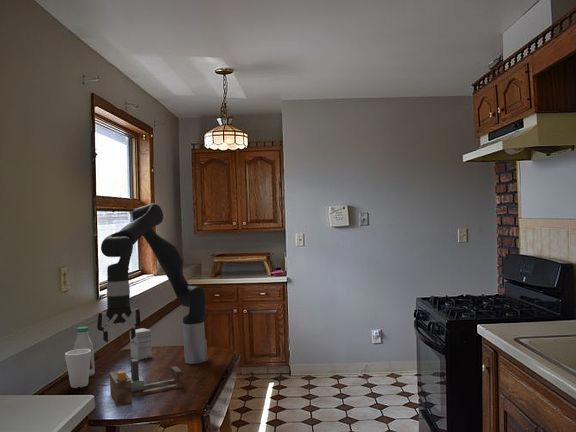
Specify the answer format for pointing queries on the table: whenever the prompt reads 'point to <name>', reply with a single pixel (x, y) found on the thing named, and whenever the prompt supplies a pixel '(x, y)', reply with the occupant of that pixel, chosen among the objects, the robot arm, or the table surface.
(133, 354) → the supplement box
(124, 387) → the brown mechanism housing
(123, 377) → the button
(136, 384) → the sliding handle
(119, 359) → the table surface
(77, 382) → the foam cup
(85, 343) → the milk bottle
